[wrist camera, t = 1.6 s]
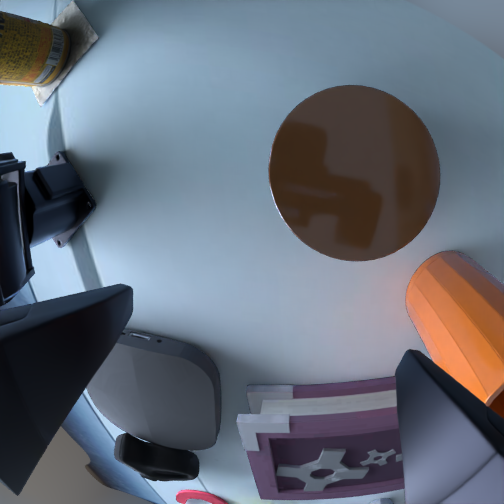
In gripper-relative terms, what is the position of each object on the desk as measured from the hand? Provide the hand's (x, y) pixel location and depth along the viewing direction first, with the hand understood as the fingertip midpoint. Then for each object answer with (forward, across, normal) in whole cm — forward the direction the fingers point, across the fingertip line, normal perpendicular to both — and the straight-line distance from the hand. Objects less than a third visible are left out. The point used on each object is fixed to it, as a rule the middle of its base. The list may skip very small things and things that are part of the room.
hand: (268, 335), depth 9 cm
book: (+13, -14, +18) cm, 27 cm away
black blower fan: (+10, +3, +29) cm, 31 cm away
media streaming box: (+13, +9, +19) cm, 25 cm away
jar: (+13, -3, -5) cm, 14 cm away
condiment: (+13, +23, -12) cm, 30 cm away
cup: (+13, -14, +2) cm, 19 cm away
